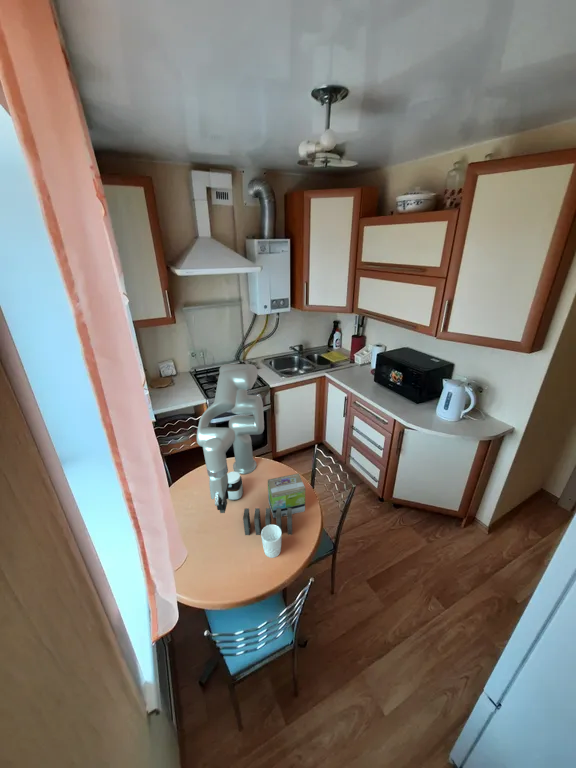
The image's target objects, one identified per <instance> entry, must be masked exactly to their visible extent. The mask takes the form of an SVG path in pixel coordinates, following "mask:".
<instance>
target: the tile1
mask: <svg viewBox="0 0 576 768" xmlns="http://www.w3.org/2000/svg"><path fill="white" fill-rule="evenodd" d="M243 510H244V511H243V514H242V515H243V516H242V520H243V521H242V522H243V529H244V536H250V533H251V526H252V525H251V524H252V523H251V515H250V509H249V508H247V507H245V508H244V509H243Z"/></svg>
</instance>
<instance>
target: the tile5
mask: <svg viewBox="0 0 576 768" xmlns="http://www.w3.org/2000/svg"><path fill="white" fill-rule="evenodd" d="M286 519H287V521H286V522H287V523H286V526H287V535H290V536H291V535H293V514H292V508H287V515H286Z"/></svg>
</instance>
